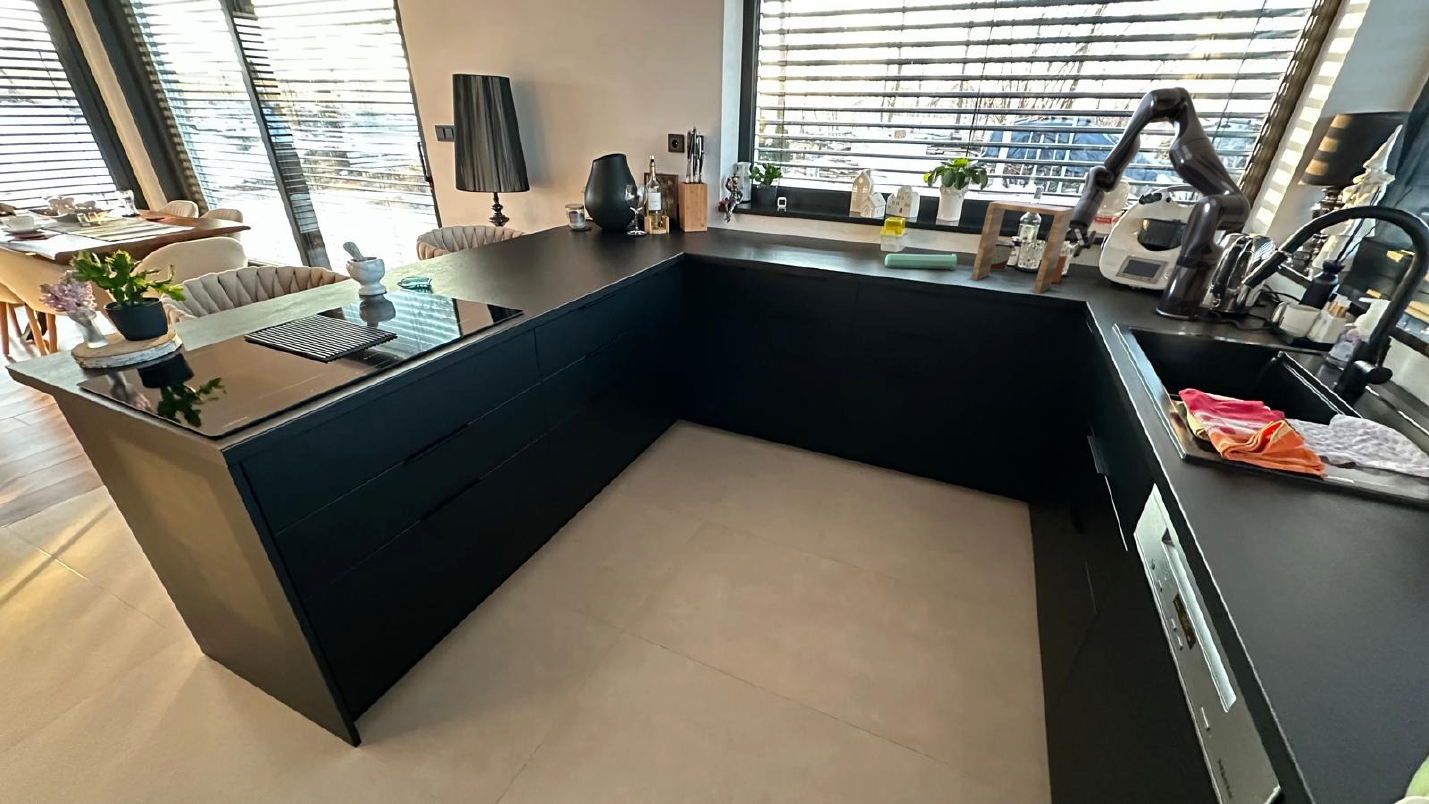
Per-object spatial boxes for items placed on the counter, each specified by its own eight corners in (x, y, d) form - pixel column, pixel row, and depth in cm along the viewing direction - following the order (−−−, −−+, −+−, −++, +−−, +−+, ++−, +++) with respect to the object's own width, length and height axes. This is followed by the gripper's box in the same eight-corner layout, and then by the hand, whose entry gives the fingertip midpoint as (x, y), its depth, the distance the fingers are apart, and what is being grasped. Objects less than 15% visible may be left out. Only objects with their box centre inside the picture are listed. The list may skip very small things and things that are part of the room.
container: (887, 250, 203) (957, 252, 201) (883, 253, 209) (952, 255, 207) (886, 267, 203) (956, 269, 202) (882, 269, 209) (950, 271, 207)
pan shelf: (1049, 288, 186) (1074, 208, 174) (1039, 293, 179) (1063, 210, 168) (982, 274, 200) (1001, 199, 188) (970, 279, 193) (989, 202, 182)
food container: (1002, 266, 211) (1009, 239, 207) (1008, 270, 206) (1016, 243, 201) (969, 265, 212) (975, 238, 208) (974, 269, 207) (981, 241, 202)
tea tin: (1061, 280, 194) (1069, 254, 190) (1056, 283, 191) (1064, 257, 187) (1045, 277, 198) (1053, 252, 194) (1040, 280, 194) (1047, 254, 190)
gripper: (1059, 206, 195) (1038, 243, 194) (1105, 211, 186) (1084, 251, 184) (1060, 220, 201) (1039, 257, 199) (1104, 226, 192) (1083, 264, 190)
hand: (1061, 254), depth 192 cm, fingers open, 8 cm apart
